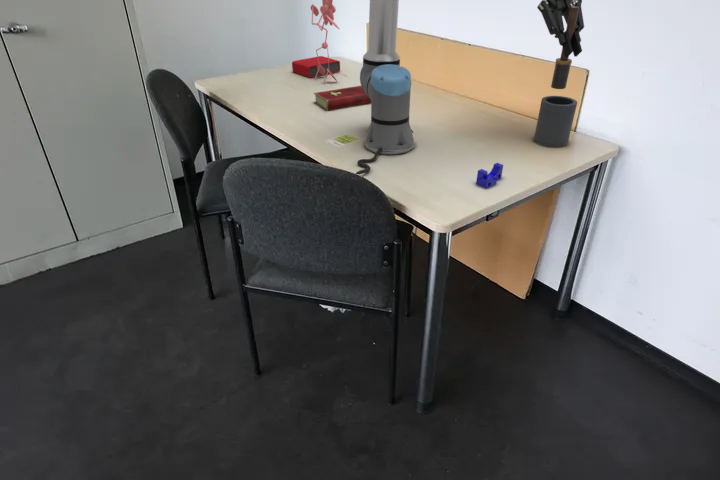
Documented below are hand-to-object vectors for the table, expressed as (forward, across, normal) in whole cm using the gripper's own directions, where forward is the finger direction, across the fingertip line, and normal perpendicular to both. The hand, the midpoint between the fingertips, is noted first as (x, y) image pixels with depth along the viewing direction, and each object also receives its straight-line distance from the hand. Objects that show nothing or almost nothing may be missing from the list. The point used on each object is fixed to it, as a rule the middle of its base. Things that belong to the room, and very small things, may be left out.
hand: (573, 53), depth 136 cm
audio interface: (-60, +59, -95) cm, 127 cm away
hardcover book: (-22, +55, -61) cm, 85 cm away
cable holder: (+33, +31, -6) cm, 46 cm away
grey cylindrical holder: (+17, -1, -21) cm, 27 cm away
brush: (+5, 0, -10) cm, 11 cm away
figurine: (-48, +54, -86) cm, 113 cm away
